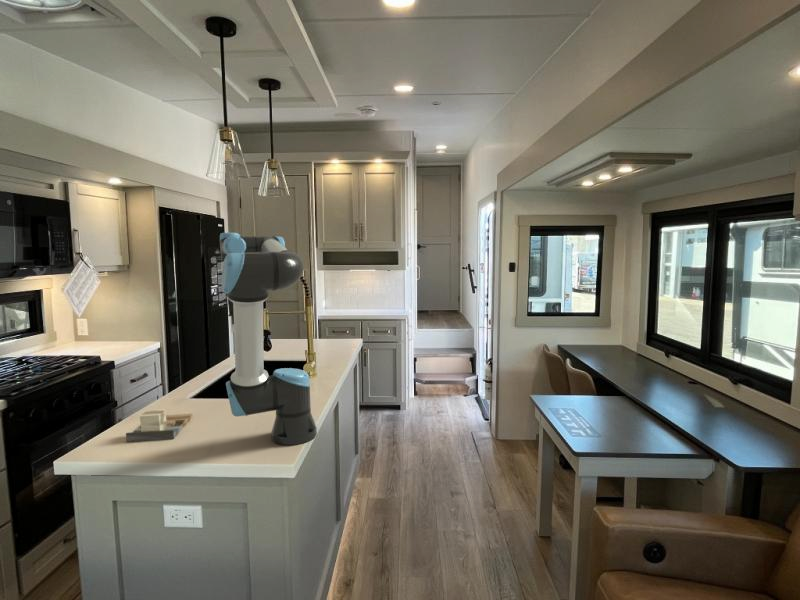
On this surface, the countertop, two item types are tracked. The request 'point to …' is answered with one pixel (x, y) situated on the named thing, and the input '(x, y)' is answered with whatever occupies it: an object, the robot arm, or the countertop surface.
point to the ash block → (153, 420)
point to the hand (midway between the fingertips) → (235, 332)
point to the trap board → (173, 428)
